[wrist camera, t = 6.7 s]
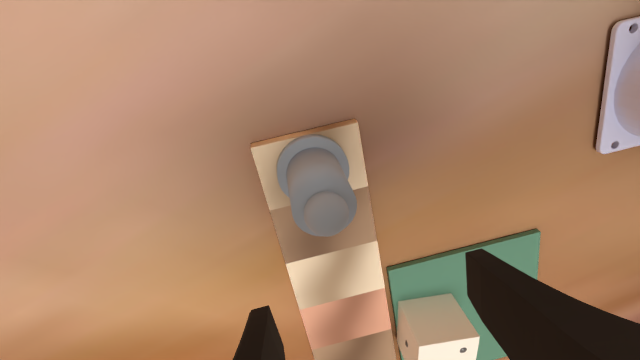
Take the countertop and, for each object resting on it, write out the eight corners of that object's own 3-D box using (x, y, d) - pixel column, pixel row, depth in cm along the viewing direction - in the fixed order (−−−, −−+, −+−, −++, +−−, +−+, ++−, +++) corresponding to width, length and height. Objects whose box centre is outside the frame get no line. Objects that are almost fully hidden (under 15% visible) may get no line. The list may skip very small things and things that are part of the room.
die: (451, 293, 27) (480, 337, 24) (446, 333, 29) (473, 380, 25) (396, 301, 27) (418, 348, 23) (395, 341, 29) (415, 390, 25)
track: (354, 118, 21) (358, 122, 21) (394, 356, 30) (397, 365, 29) (250, 143, 21) (250, 148, 20) (321, 376, 30) (322, 385, 29)
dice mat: (536, 228, 27) (540, 231, 26) (529, 345, 32) (532, 349, 31) (386, 267, 26) (388, 271, 26) (403, 379, 31) (405, 383, 31)
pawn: (340, 126, 21) (369, 171, 15) (351, 190, 22) (382, 251, 17) (268, 143, 20) (271, 196, 15) (286, 206, 22) (294, 274, 17)
